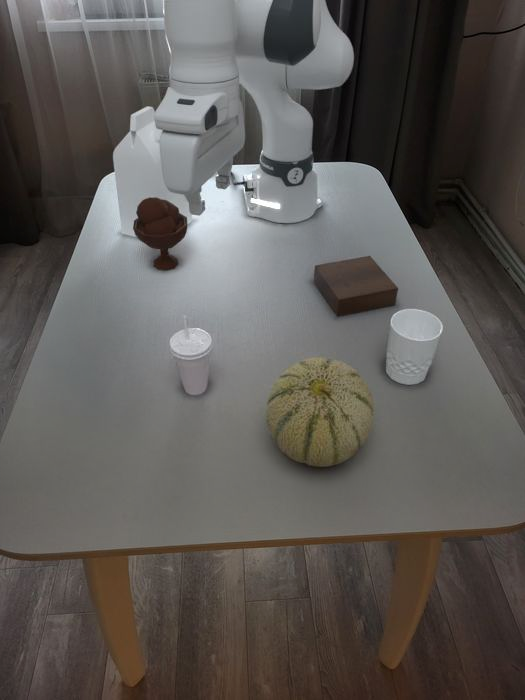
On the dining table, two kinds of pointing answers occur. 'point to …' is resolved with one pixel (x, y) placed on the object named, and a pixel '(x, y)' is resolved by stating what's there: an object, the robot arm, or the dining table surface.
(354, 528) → the dining table surface
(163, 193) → the milk
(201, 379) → the smoothie
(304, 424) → the cantaloupe
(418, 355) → the white cup
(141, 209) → the ice cream bowl
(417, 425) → the dining table surface
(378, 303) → the block
